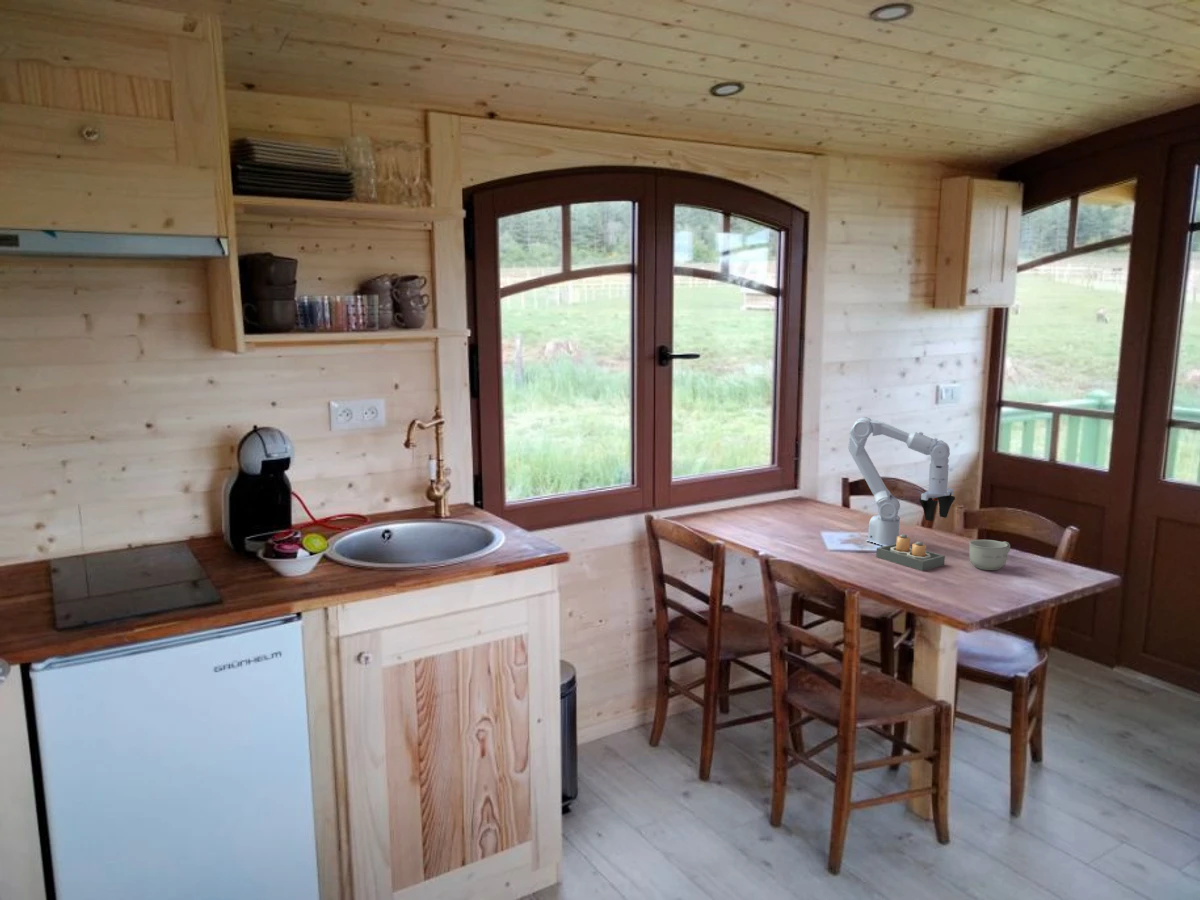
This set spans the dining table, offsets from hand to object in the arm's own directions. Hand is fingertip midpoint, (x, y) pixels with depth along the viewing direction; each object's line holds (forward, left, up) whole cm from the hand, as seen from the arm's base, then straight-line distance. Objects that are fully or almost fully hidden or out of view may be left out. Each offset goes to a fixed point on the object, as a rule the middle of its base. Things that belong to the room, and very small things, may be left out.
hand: (936, 518), depth 273 cm
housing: (+4, -18, -10) cm, 21 cm away
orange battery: (+1, -18, -9) cm, 21 cm away
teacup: (+22, -2, -11) cm, 24 cm away
